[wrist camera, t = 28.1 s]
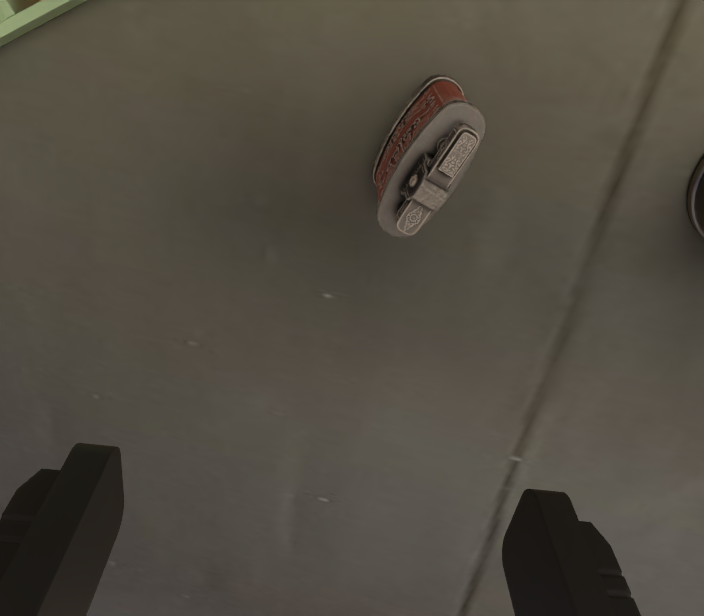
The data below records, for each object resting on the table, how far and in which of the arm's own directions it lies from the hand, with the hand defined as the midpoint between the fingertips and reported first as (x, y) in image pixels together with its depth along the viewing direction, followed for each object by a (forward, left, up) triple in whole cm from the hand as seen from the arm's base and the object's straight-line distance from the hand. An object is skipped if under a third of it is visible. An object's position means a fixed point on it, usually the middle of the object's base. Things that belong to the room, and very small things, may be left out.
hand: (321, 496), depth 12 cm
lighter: (-3, -4, -30) cm, 31 cm away
